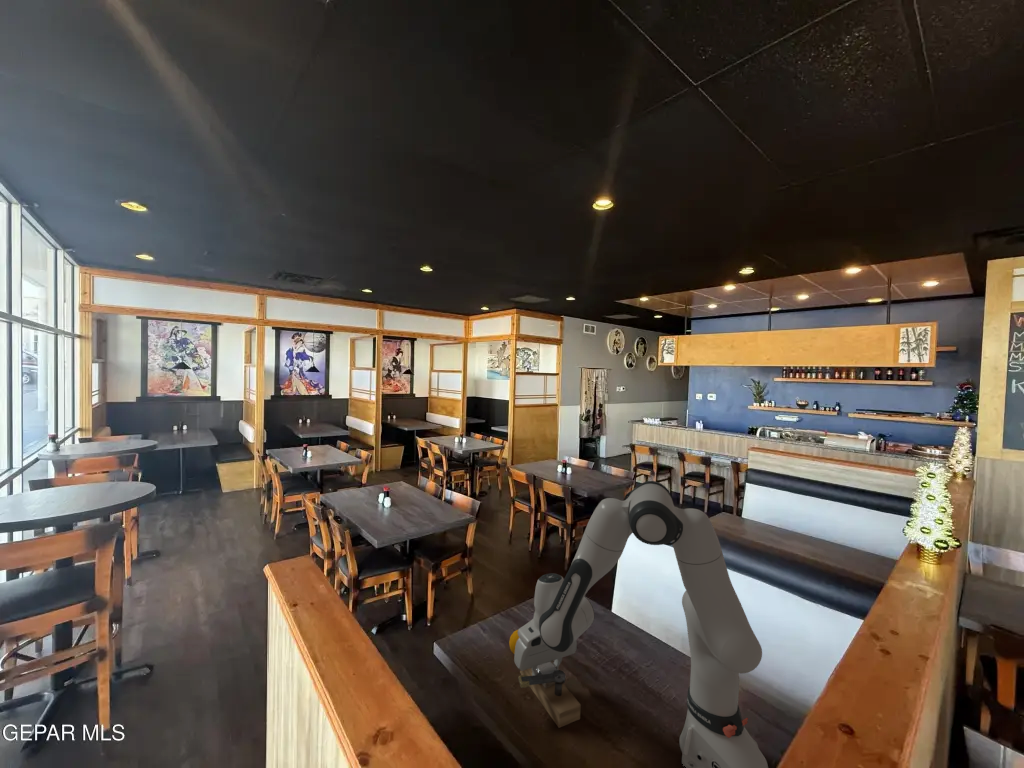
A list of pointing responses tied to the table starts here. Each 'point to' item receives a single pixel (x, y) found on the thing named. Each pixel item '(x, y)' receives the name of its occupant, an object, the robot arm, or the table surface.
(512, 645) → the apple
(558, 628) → the robot arm
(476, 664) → the table surface
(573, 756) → the table surface
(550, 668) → the lever cap
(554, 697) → the plane body
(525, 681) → the lever
